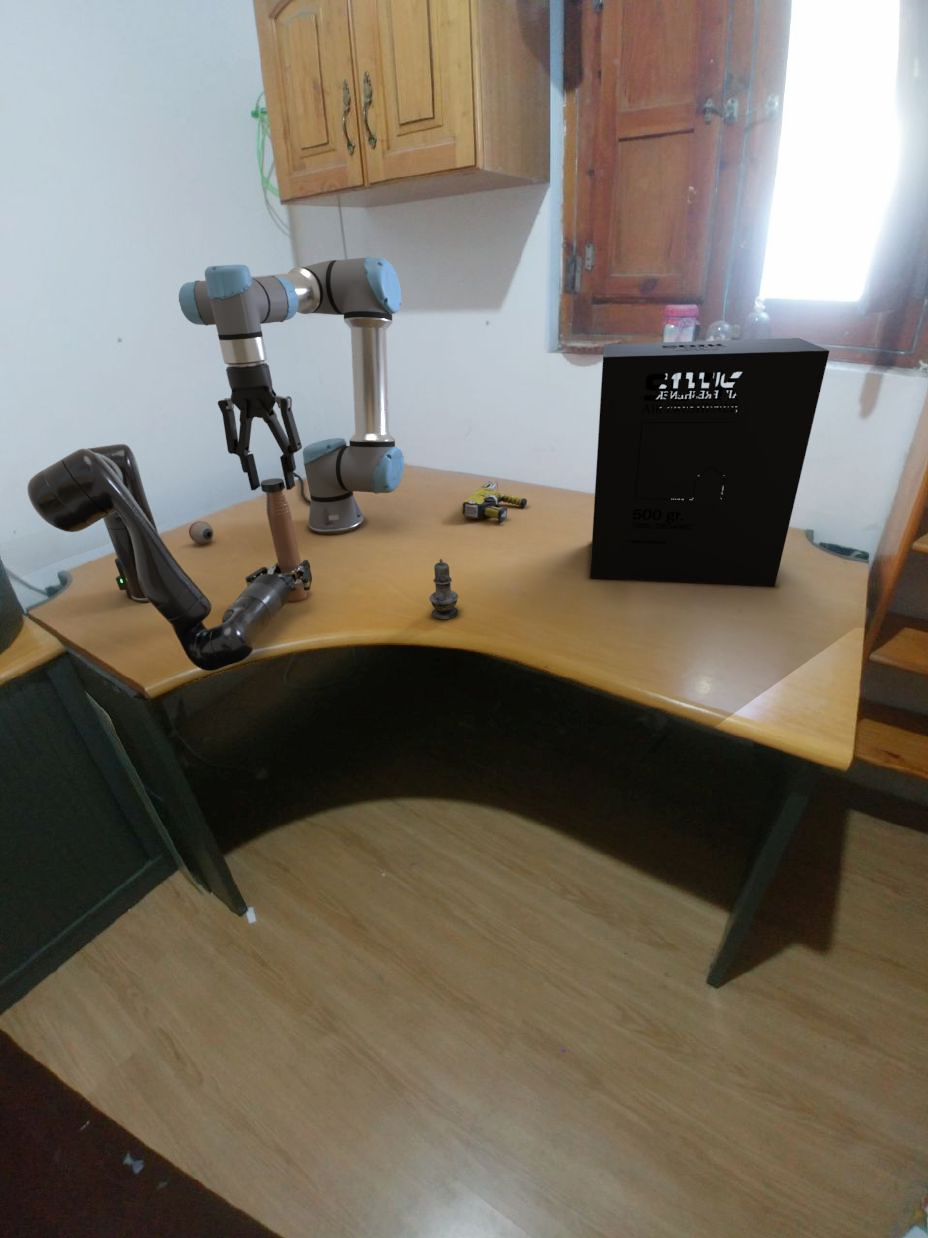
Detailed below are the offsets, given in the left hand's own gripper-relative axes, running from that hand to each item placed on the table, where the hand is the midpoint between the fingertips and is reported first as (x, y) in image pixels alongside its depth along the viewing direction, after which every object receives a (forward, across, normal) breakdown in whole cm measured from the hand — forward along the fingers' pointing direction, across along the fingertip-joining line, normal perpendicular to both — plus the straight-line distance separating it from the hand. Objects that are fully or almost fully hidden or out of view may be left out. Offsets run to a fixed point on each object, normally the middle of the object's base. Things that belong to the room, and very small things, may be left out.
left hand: (295, 563), depth 131 cm
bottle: (-3, 0, +7) cm, 7 cm away
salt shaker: (-8, -34, +7) cm, 36 cm away
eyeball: (+26, +38, +7) cm, 46 cm away
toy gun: (+53, -39, +7) cm, 67 cm away
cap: (-3, 0, -19) cm, 19 cm away
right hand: (-3, 0, -18) cm, 18 cm away
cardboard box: (+18, -83, +7) cm, 85 cm away
